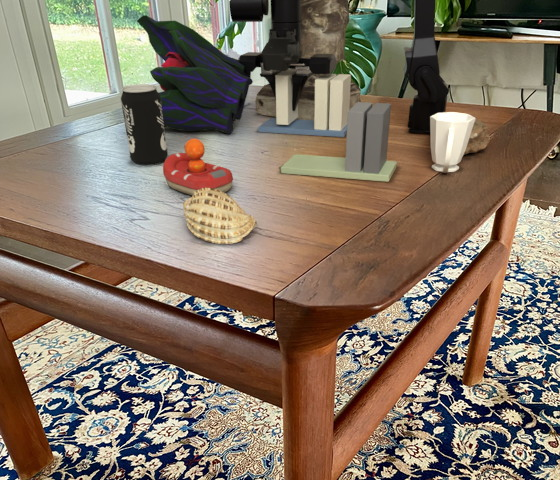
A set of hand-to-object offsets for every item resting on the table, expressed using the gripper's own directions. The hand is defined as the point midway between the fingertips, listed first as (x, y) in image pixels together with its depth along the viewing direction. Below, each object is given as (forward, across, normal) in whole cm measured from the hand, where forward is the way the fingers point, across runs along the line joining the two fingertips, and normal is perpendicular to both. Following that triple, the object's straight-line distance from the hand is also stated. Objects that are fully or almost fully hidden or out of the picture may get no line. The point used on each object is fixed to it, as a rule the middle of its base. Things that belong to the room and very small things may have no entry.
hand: (287, 110), depth 119 cm
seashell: (+4, +8, -55) cm, 56 cm away
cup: (+4, +34, -21) cm, 40 cm away
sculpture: (+4, 0, +16) cm, 16 cm away
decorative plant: (+4, -21, -5) cm, 22 cm away
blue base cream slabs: (+4, +4, 0) cm, 5 cm away
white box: (+2, 0, 0) cm, 2 cm away
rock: (+4, +35, -8) cm, 36 cm away
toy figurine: (+4, -19, +19) cm, 27 cm away
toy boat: (+4, -2, -40) cm, 40 cm away
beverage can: (+4, -17, -28) cm, 33 cm away
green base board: (+4, +17, -25) cm, 30 cm away
